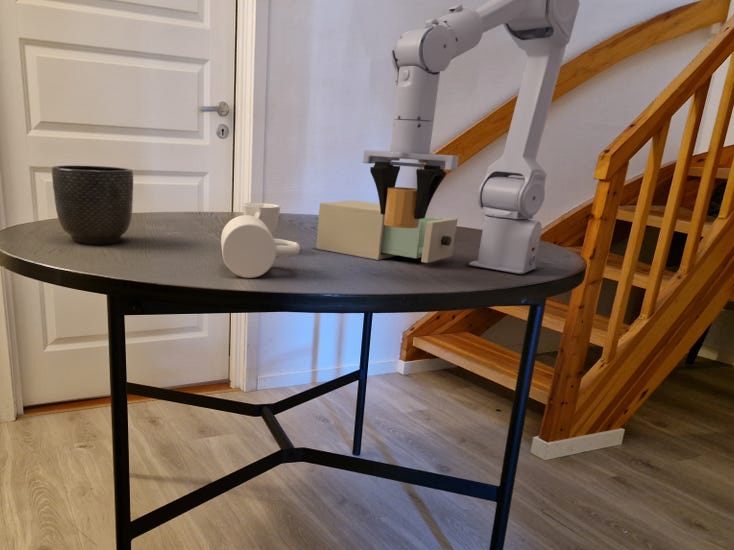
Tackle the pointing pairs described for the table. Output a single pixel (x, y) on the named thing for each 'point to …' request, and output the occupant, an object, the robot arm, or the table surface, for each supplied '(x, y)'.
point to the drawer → (421, 239)
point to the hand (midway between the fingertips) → (402, 216)
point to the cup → (263, 214)
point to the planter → (93, 202)
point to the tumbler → (401, 208)
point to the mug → (252, 246)
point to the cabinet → (351, 229)
